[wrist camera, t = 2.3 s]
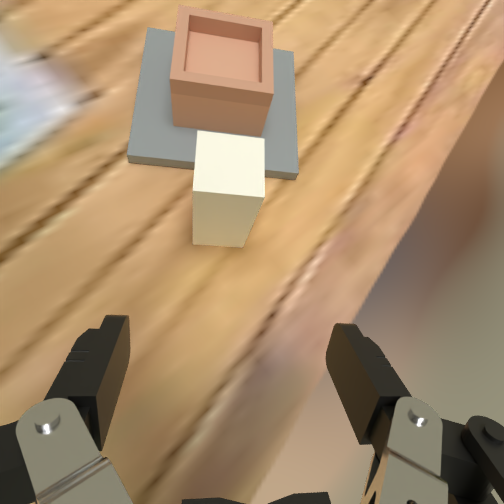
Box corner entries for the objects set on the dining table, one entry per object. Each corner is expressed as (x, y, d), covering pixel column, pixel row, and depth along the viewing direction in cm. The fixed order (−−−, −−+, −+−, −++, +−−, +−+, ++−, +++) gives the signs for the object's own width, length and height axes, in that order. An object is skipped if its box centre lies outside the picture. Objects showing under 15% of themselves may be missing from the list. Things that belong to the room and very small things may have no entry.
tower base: (129, 162, 30) (112, 109, 24) (149, 37, 35) (139, -32, 29) (295, 179, 33) (319, 136, 26) (290, 61, 38) (309, 1, 32)
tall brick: (192, 244, 29) (192, 190, 20) (196, 199, 30) (197, 130, 21) (242, 247, 29) (264, 197, 21) (243, 203, 31) (264, 138, 22)
